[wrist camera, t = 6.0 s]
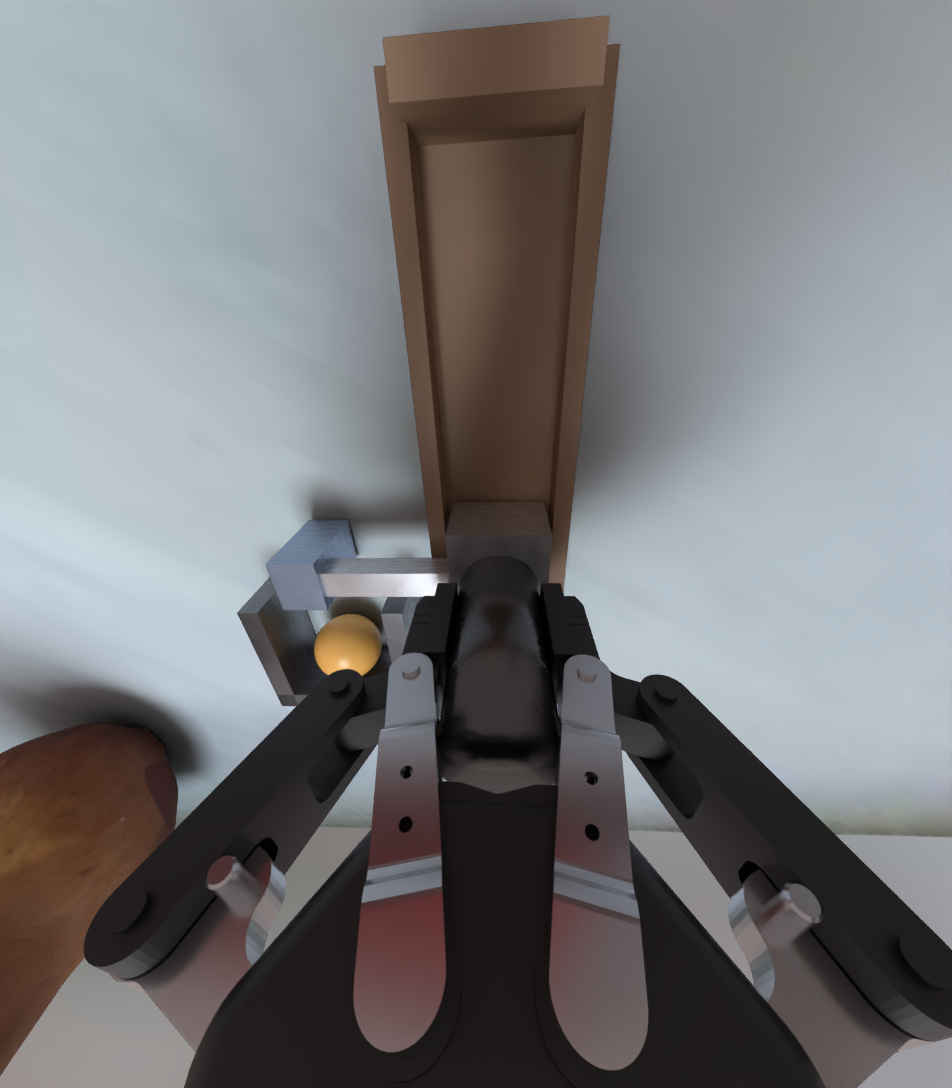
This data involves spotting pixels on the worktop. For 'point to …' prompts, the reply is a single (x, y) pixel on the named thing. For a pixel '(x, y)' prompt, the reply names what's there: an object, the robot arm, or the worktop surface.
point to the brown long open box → (498, 252)
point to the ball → (348, 644)
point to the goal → (309, 641)
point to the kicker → (461, 630)
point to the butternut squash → (69, 852)
